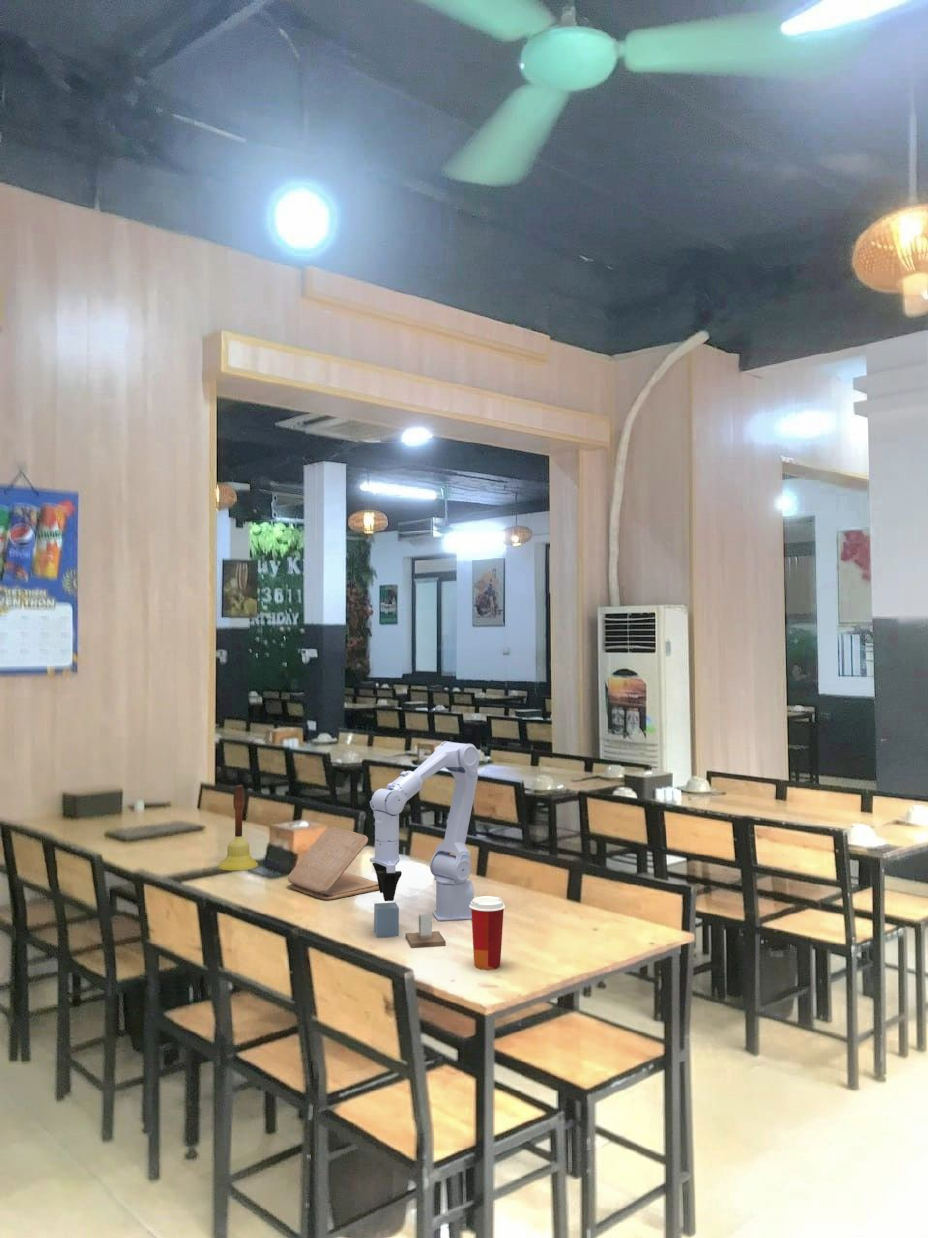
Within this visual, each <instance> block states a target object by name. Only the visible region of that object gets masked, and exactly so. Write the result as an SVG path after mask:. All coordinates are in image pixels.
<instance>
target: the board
mask: <svg viewBox="0 0 928 1238" xmlns="http://www.w3.org/2000/svg"><path fill="white" fill-rule="evenodd" d="M405 939H406V941H407V943H408V945H409V947H410V949H416V948H417V949H418V948H429V947H430V948H431V947H444V946H447V945H446V943H447V942H446V941H447V940H445V938H444V937H443V936H442V934H441V932H440V931H439V930H437V931H433V930H432V939H420V937H419V931H418V932H406V933H405Z"/></svg>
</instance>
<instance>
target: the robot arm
mask: <svg viewBox="0 0 928 1238" xmlns="http://www.w3.org/2000/svg"><path fill="white" fill-rule="evenodd" d="M480 757H481V754H480V752H479V750H478V749H477V747H476V746H475V745H474V744H473V743H464V742H463V743H462V742H461V743H460V742H453V741H447V740H445V741H443V742H441V743H440V744H439V745H437V746H435V748H434V752H433V753H431V755H430V756H429V757H427V759H425V760H424V761H423V762H422V763H421V764H420V765H419V766H418V767H417V768H415V769H414V770H413V771H412V770H406V771H405V770H403V771H402V772H400V774H399V775H400V776H398V777H397V778H396V779H395V780H393V781H391V782H389V783H388V784H387V786H386V787H385V788H379V789H377V790H376V791H375V792H374V793H373V794H372V796H371V800H370V801H369V806H370V808H371V810H372V811H373V818H374V857H370V858H369V862H370V863H371V865H372V866H373V869H374V871H375V874H376V879H377V882H378V886H379V890H378V891H379V893H380V894H382V895H383V900H384V902H393V901H394V899H395V897H396V891H397V885H398V883H399V880H400V878H401V876H402V872H403V871H401V870H396V866H397V865H398V863H400V859H401V858H400V856H399V855H400V853H399V852H400V849H399V848H400V835H399V834H400V813H402V812H403V810H404V807H405V805H406V803H407V801H409V800H410V799H411V798H413V796H415V795H416V794H417V793H418V792H420V790H422V787H423V783H424V782H425V781H426V780H427V779H429V778H430V777H432V776H433V775H435V774H436V773H438V772H439V771H440V770H442V769H443V768H445V769H446V770H447V771H448V772H449V773H450V774H451V775H452V777H453V778H454V780H455V783H454V789H453V791H452V792H453V793H452V799H451V802H450V807H449V814H448V819H447V823H446V828H445V834H444V839H443V841H441V842H440V843H439V844H438V845H436V847H435V850H434V853H433V856H432V857H431V859H430V863H429V869H430V873H431V874H432V876H433V877H434V881H435V896H436V897H435V910H432V912H431V913H432V915H433V916H434V917H435V920H437V921H439V922H441V921H443V922H444V921H459V920H460V921H461V920H472V913H471V908H470V907H469V905H470V904H471V901H472V900H473V899H474V898H475V892H474V891H475V890H474V884H473V882H472V880H468V879H469V877H470V875H471V871H472V864H471V858H472V854H471V853H472V852H471V851H470V850H469V849H468V847H467V846H466V841H467V837H468V836H467V835H468V830H469V825H470V819H471V814H472V809H473V805H474V804H473V803H474V799H475V794H476V793H475V792H476V788H477V783H478V778H479V774H478V773H479V772H478V771H479V770H478V769H479V763H480Z"/></svg>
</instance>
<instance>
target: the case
mask: <svg viewBox="0 0 928 1238" xmlns="http://www.w3.org/2000/svg"><path fill="white" fill-rule="evenodd" d="M368 842H369V837H368V836H367V835H366V834H362V833H359V832H356V831H352V830H348V829H343V828H339V827H335V826H330V827H328V828H326V829H325V830H324V831H323V832H322V833H321V835H319V837H318V838H317V839H316V841H315V842H314V843H313V844H312V845H311V847H310V848H309V849H308V851H307V852H305V854H304V856H302V858H301V859H300V860H299V862H298V863H297V864H296V865H295V866H294V868H292V870H291V871H290V873H289V874H288V876H287V880H288V882H289V883H291V884H290V885H289V888H290V889H292V890H294V891H297V892H300V893H303V894H305V895H308V896H310V897H311V896H312V897H314V898H315V899H316V898H317V899H319V900H323V901H334V900H337V899H342V898H343V899H344V898H348V897H351V896H356V895H361V894H365V893H371V892H376V891H379V886H378V881H376V880H371V879H369V878H366V877H364V876H359V875H356V874H352V873H349V872H345V871H346V870H347V869H348V868H349V866H351V864H352V863H353V862H354V860H355V859H356V858H357V857H358V855H359V854H360V853H361V852H362V850H363V849H364V848H365V847H366V845H367V844H368Z"/></svg>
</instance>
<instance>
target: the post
mask: <svg viewBox="0 0 928 1238" xmlns="http://www.w3.org/2000/svg"><path fill="white" fill-rule="evenodd" d="M418 932H419V937H420V939H432V932H433V916H432V915H431V913H422V914H421V913H420V914H418Z"/></svg>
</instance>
